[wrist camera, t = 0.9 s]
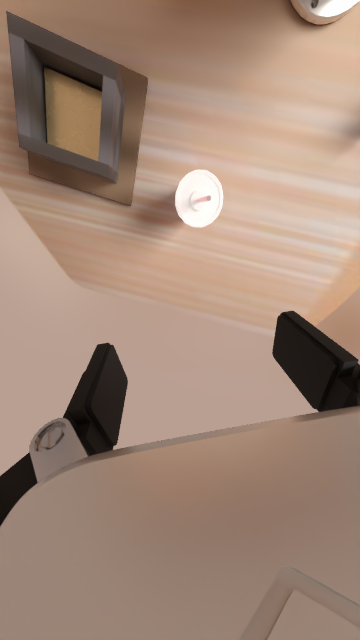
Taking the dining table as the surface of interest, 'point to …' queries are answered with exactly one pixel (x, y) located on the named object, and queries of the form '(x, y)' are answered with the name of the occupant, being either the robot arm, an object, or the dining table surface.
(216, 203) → the beverage cup
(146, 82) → the socket block
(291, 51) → the dining table surface
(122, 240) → the dining table surface
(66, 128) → the plate
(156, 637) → the robot arm
